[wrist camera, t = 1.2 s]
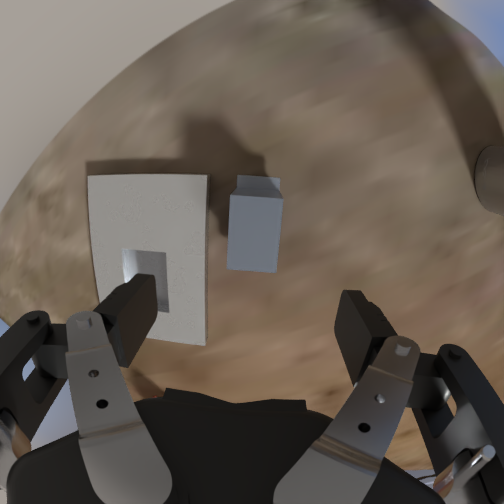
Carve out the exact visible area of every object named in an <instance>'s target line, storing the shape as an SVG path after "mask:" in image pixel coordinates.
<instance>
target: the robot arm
mask: <svg viewBox="0 0 504 504" xmlns="http://www.w3.org/2000/svg"><path fill="white" fill-rule="evenodd" d="M475 186H476V191H477V195H478V197H479V200H480V202H481V204H482V205H483V206H484V207H485V208H486V209H487V210H489V211H491V212H494V213H496V214H499V215H502V216H504V147H503V146H489V147H487V148H485V149H484V150H483V151H482V152H481V154H480V156H479V158H478V161H477V164H476V170H475ZM157 314H158V303H157V292H156V280H155V276H154V275H152V274H143V273H136V274H135V275H134V276H133V277H132V278H131V279H130V281H129V282H128V283H126V282H125V283H123V284H121V285H119V286H117V287H116V288H115V289H114V290H113V291H112V292H111V294H109V295H108V296H107V297H106V299H104V300H103V301H102V302H101V303H100V304H99V305H98V306H97V307H96V308H95V309H94V310H93V311H82V312H78V313H75V314H73V315H72V316H70V317H69V318H68V320H67V322H66V324H51V321H50V318H49V315H48V313H46V312H45V311H32V312H29V313H26V314H25V315H23V316H22V317H21V318H20V319H19V320H18V321H17V322H15V323H14V324H13V325H12V326H11V327H10V328H9V329H8V330H7V331H6V332H5V333H4V334H3V335H2V336H1V337H0V489H2V490H4V491H5V492H6V493H7V504H504V404H503V403H502V401H501V400H500V398H499V397H498V395H497V394H496V392H495V391H494V389H493V388H492V386H491V385H490V383H489V382H488V380H487V379H486V377H485V376H484V375H483V373H482V372H481V370H480V369H479V368H478V366H477V365H476V363H475V362H474V361H473V359H472V358H471V357H470V355H469V354H468V353H467V352H466V351H465V350H464V349H463V348H461V347H459V346H457V345H454V344H444V345H442V346H441V347H440V349H439V351H438V353H437V355H433V354H426V353H421V352H420V347H419V346H418V344H417V343H416V342H414V341H413V340H411V339H409V338H407V337H404V336H398V335H397V333H396V332H395V330H394V329H393V327H392V326H391V324H390V323H389V321H388V320H387V318H386V317H385V316H384V314H383V312H382V311H381V310H380V308H379V307H377V306H376V305H375V304H373V303H372V302H368V300H367V299H366V297H365V296H364V294H363V293H362V292H361V291H360V290H343V292H342V294H341V298H340V303H339V307H338V311H337V315H336V320H335V326H334V332H335V336H336V339H337V342H338V345H339V347H340V350H341V353H342V356H343V358H344V361H345V364H346V367H347V370H348V373H349V375H350V378H351V381H352V384H353V387H355V389H354V390H353V392H352V393H351V395H350V396H349V398H348V399H347V401H346V402H345V404H344V405H343V407H342V408H341V409H340V411H339V412H338V414H337V415H336V416H335V418H334V419H332V418H330V417H328V416H326V415H324V414H321V413H318V412H315V411H311V410H307V408H306V401H305V400H282V399H269V400H262V401H254V402H246V403H230V402H227V401H223V400H220V399H217V398H214V397H210V396H207V395H204V394H201V393H197V392H190V391H183V390H177V389H171V388H166V390H165V393H164V396H163V397H155V398H148V399H143V400H140V401H136V402H133V400H132V398H131V395H130V393H129V391H128V388H127V386H126V383H125V381H124V378H123V376H122V373H121V370H120V368H119V366H121V367H126V368H128V367H129V366H130V364H131V362H132V360H133V359H134V357H135V355H136V353H137V352H138V350H139V348H140V346H141V345H142V343H143V341H144V340H145V338H146V336H147V334H148V333H149V331H150V329H151V328H152V326H153V324H154V323H155V321H156V318H157ZM30 358H32V360H33V362H34V365H35V368H34V370H33V371H32V372H31V374H30V375H29V376H28V378H27V379H26V380H25V382H24V380H23V376H22V371H23V368H24V366H25V364H26V363H27V362H28V361H29V360H30ZM67 379H69V385H70V392H71V397H72V402H73V408H74V412H75V417H76V422H77V426H78V430H77V431H75V432H73V433H71V434H69V435H67V436H65V437H62V438H60V439H58V440H56V441H53V442H51V443H49V444H46V445H44V446H42V447H39V448H37V449H35V450H32V451H31V443H30V442H31V441H32V438H33V436H34V435H35V433H36V431H37V429H38V428H39V426H40V424H41V422H42V421H43V419H44V417H45V415H46V414H47V412H48V410H49V409H50V406H51V405H52V404H53V402H54V400H55V399H56V397H57V395H58V394H59V392H60V390H61V389H62V387H63V385H64V384H65V382H66V381H67ZM451 395H452V397H453V399H454V400H455V402H456V405H457V411H456V415H455V417H454V416H453V414H452V412H451V410H450V408H449V406H448V404H447V400H448V399H449V397H450V396H451ZM405 407H409V408H412V411H413V413H414V416H415V418H416V421H417V423H418V426H419V429H420V431H421V434H422V437H423V439H424V442H425V445H426V448H427V451H428V453H429V456H430V459H431V462H432V465H433V468H434V471H435V474H436V479H435V481H434V484H433V489H431V488H430V487H428V486H427V485H425V484H424V483H422V482H420V481H419V480H417V479H416V478H414V477H413V476H411V475H410V474H408V473H407V472H405V471H404V470H403V469H401V468H400V467H398V466H397V465H395V464H394V463H392V462H391V461H390V460H388V459H387V458H385V457H384V456H385V453H386V451H387V449H388V447H389V445H390V443H391V441H392V438H393V436H394V434H395V431H396V429H397V427H398V424H399V422H400V419H401V417H402V414H403V412H404V409H405Z"/></svg>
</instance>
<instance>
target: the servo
mask: <svg viewBox="0 0 504 504" xmlns="http://www.w3.org/2000/svg"><path fill="white" fill-rule="evenodd" d="M279 187H280V178H276V177H264V176H250V175H237V188H236V189H235V190H234V191H233V192H232V194H231V195H230V209H229V230H228V252H227V269H232V270H244V271H258V272H271V273H276V269H277V260H278V250H279V240H280V230H281V220H282V209H283V197H282V195H281V193H280V191H279Z"/></svg>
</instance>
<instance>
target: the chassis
mask: <svg viewBox="0 0 504 504" xmlns="http://www.w3.org/2000/svg"><path fill="white" fill-rule="evenodd" d="M209 196H210V174H186V173H125V174H96V175H90V176H88V205H89V222H90V234H91V245H92V254H93V262H94V269H95V276H96V283H97V289H98V295H99V300H100V303H101V302H102V301H103V300H104V299H106V297H107V296H108V295H109V294H111V292H112V291H113V290H114V289H115V288H116V287H117V286H119V285H121V284H123V283H125V282H126V283H128V282H129V281H130V279H131V278H132V277H133V276H134V275H135V274H136V273H143V274H152V275H154V276H155V280H156V292H157V303H158V314H157V318H156V321H155V323H154V324H153V326H152V328H151V329H150V331H149V333H148V334H147V336H146V337H147V338H153V339H159V340H165V341H172V342H179V343H186V344H194V345H202V346H206V342H207V339H208V301H207V289H208V225H209Z"/></svg>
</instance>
